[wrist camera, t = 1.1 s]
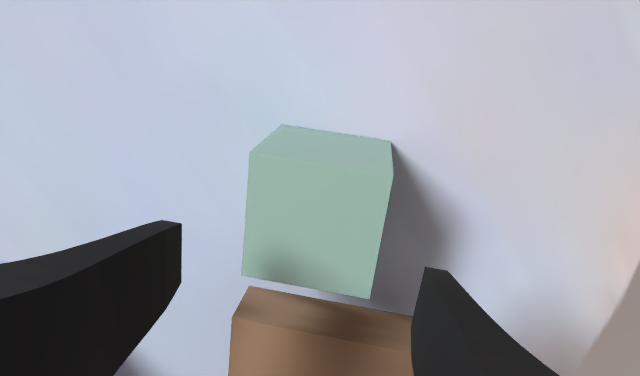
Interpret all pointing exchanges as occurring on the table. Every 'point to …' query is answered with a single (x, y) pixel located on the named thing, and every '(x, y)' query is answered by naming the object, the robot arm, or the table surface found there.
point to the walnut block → (316, 338)
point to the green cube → (316, 209)
